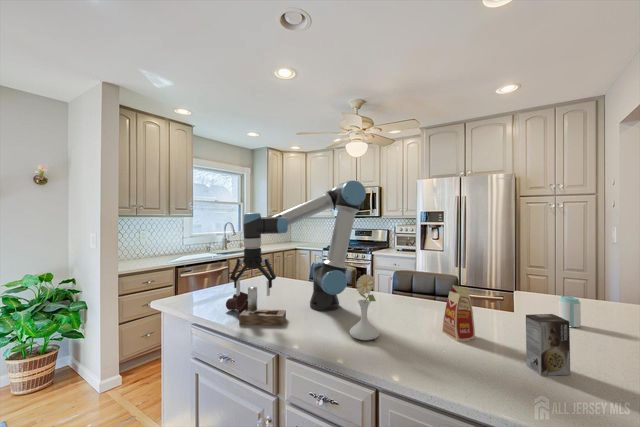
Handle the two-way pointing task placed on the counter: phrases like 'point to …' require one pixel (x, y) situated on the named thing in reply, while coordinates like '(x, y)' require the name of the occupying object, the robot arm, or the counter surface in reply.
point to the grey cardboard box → (548, 344)
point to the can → (570, 310)
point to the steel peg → (252, 299)
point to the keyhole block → (262, 317)
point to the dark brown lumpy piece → (238, 302)
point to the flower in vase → (364, 310)
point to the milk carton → (459, 315)
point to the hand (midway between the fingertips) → (253, 295)
